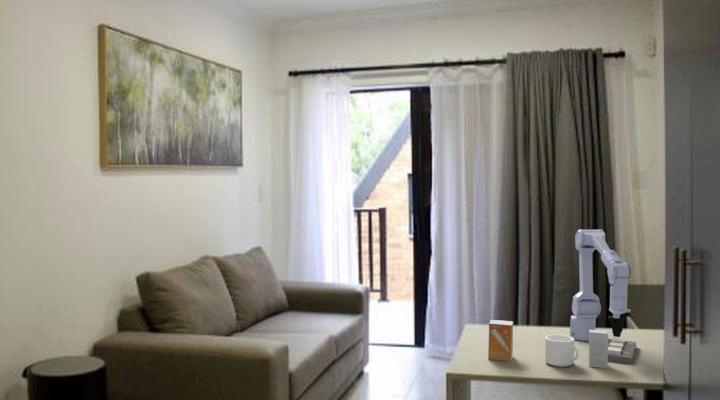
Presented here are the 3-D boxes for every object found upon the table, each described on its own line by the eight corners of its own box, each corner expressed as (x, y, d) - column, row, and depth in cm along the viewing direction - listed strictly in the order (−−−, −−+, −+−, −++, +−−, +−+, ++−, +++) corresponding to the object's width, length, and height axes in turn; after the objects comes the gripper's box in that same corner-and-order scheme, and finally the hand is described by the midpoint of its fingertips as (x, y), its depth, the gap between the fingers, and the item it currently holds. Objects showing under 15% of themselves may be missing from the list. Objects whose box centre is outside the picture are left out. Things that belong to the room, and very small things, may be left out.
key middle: (609, 351, 234) (609, 344, 233) (610, 348, 237) (610, 342, 237) (622, 353, 231) (622, 346, 231) (623, 349, 235) (623, 343, 235)
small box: (488, 359, 226) (488, 323, 226) (490, 354, 232) (490, 319, 232) (511, 361, 224) (512, 325, 223) (512, 356, 230) (513, 320, 229)
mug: (586, 365, 220) (587, 339, 220) (570, 371, 213) (571, 344, 213) (555, 357, 229) (555, 332, 228) (539, 363, 222) (539, 337, 222)
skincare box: (607, 365, 221) (607, 330, 220) (607, 368, 216) (608, 333, 216) (588, 363, 222) (589, 329, 222) (588, 366, 218) (589, 332, 218)
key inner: (611, 346, 240) (611, 340, 240) (612, 343, 244) (612, 337, 243) (623, 348, 238) (624, 341, 238) (625, 345, 242) (625, 339, 241)
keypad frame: (594, 359, 227) (594, 352, 227) (602, 343, 247) (602, 337, 247) (631, 364, 222) (631, 357, 221) (636, 347, 242) (636, 341, 242)
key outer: (606, 356, 227) (607, 349, 227) (608, 353, 231) (608, 346, 231) (620, 358, 225) (620, 351, 225) (621, 354, 229) (621, 348, 229)
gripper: (629, 301, 220) (628, 340, 220) (632, 294, 233) (631, 330, 233) (607, 299, 223) (606, 337, 224) (611, 292, 236) (610, 328, 236)
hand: (617, 334), depth 229 cm, fingers open, 7 cm apart
